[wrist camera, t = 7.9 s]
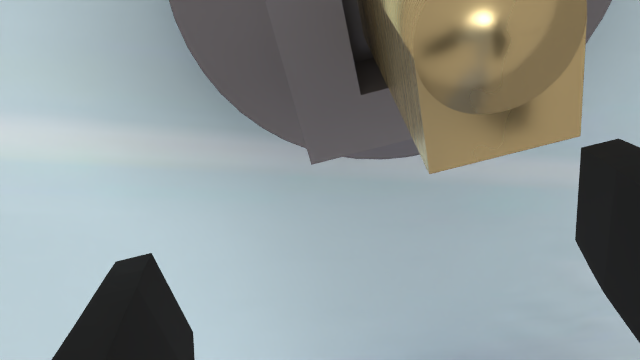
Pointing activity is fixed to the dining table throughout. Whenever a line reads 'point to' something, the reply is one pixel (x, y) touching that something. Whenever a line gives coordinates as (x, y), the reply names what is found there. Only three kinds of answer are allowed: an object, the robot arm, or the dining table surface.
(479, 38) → the shaft
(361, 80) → the hub
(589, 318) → the dining table surface
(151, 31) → the dining table surface
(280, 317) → the dining table surface
